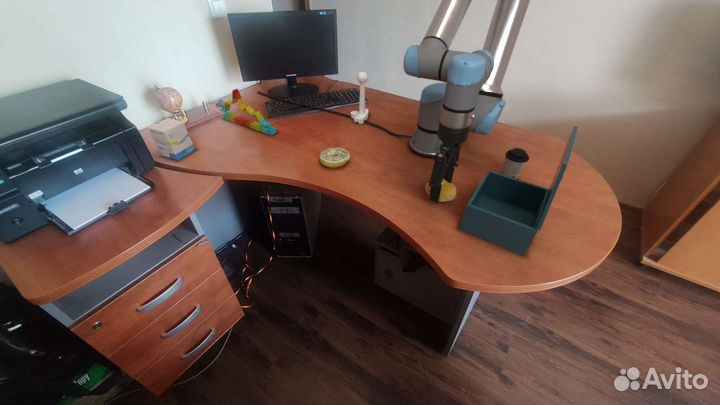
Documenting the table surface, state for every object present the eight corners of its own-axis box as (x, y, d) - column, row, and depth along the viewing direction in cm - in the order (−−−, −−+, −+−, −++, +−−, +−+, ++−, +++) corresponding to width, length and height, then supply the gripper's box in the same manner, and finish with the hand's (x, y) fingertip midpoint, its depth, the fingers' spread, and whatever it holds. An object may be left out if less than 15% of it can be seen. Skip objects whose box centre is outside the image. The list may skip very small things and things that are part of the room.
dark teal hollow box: (459, 228, 80) (466, 204, 75) (480, 193, 92) (488, 169, 86) (523, 255, 73) (537, 231, 68) (537, 213, 85) (550, 189, 79)
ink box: (196, 149, 113) (184, 121, 105) (177, 160, 107) (163, 131, 99) (180, 145, 116) (167, 116, 108) (161, 155, 110) (146, 126, 102)
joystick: (363, 124, 128) (363, 76, 114) (347, 122, 129) (345, 75, 116) (370, 113, 136) (371, 68, 122) (354, 111, 137) (353, 66, 124)
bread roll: (444, 207, 84) (447, 196, 81) (420, 192, 89) (422, 181, 86) (461, 194, 88) (464, 183, 85) (437, 180, 93) (439, 170, 90)
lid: (562, 163, 57) (567, 164, 56) (574, 126, 68) (578, 126, 68) (536, 229, 67) (540, 230, 67) (549, 187, 79) (553, 188, 78)
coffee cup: (517, 187, 94) (529, 160, 87) (494, 180, 97) (504, 154, 90) (521, 176, 98) (532, 150, 92) (499, 170, 101) (509, 144, 95)
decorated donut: (356, 160, 106) (355, 151, 104) (334, 173, 100) (333, 164, 98) (335, 150, 111) (335, 141, 109) (314, 162, 106) (313, 153, 103)
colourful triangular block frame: (277, 132, 123) (269, 96, 113) (271, 135, 121) (263, 99, 111) (229, 115, 135) (218, 82, 125) (223, 118, 133) (212, 84, 123)
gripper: (453, 147, 65) (437, 218, 80) (483, 110, 78) (464, 178, 93) (422, 137, 68) (412, 208, 84) (456, 104, 81) (442, 170, 97)
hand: (439, 192), depth 88 cm, fingers closed on bread roll, 9 cm apart
